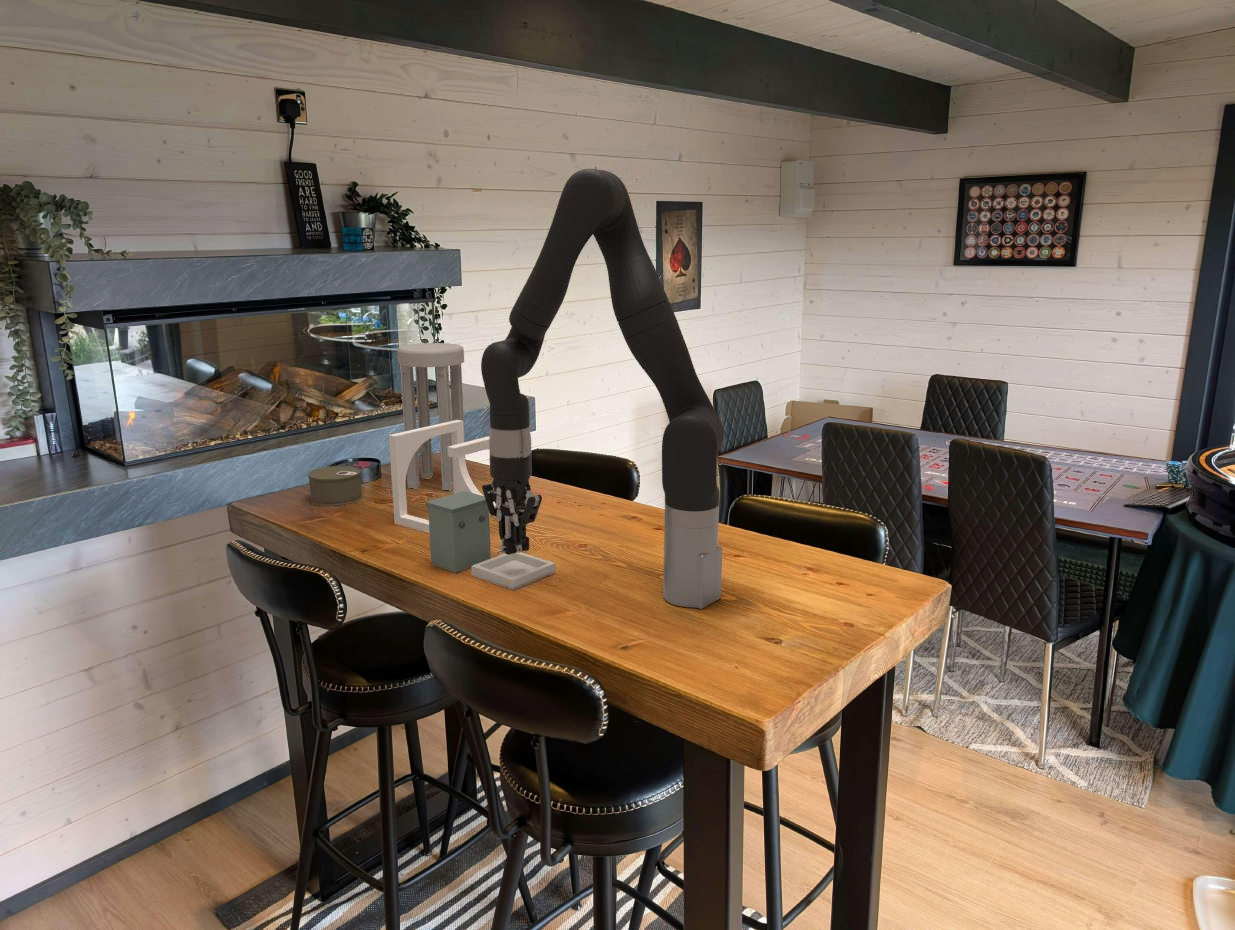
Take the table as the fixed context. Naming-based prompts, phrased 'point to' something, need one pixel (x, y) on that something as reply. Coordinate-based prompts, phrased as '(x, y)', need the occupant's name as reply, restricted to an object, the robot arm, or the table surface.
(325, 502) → the can
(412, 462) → the stool
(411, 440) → the bookend
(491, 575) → the tray
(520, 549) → the push button
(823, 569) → the table surface
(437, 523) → the box
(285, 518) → the table surface
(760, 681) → the table surface
